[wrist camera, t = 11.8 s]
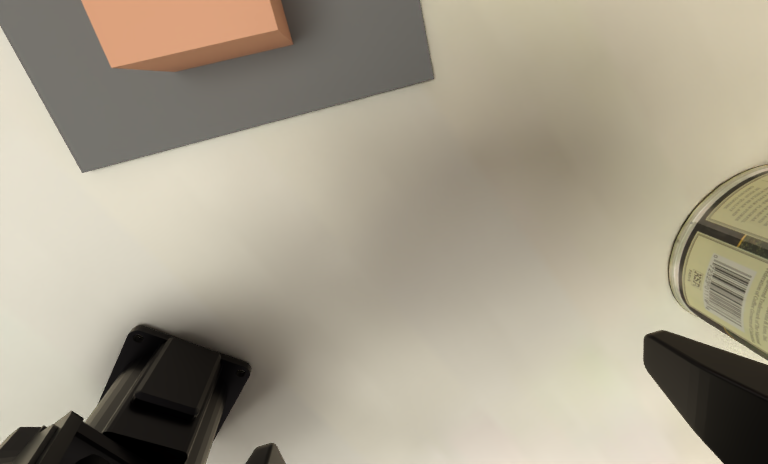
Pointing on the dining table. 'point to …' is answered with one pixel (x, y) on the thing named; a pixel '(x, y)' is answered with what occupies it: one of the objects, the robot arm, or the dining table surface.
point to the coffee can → (727, 260)
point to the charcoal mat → (210, 75)
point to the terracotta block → (185, 31)
